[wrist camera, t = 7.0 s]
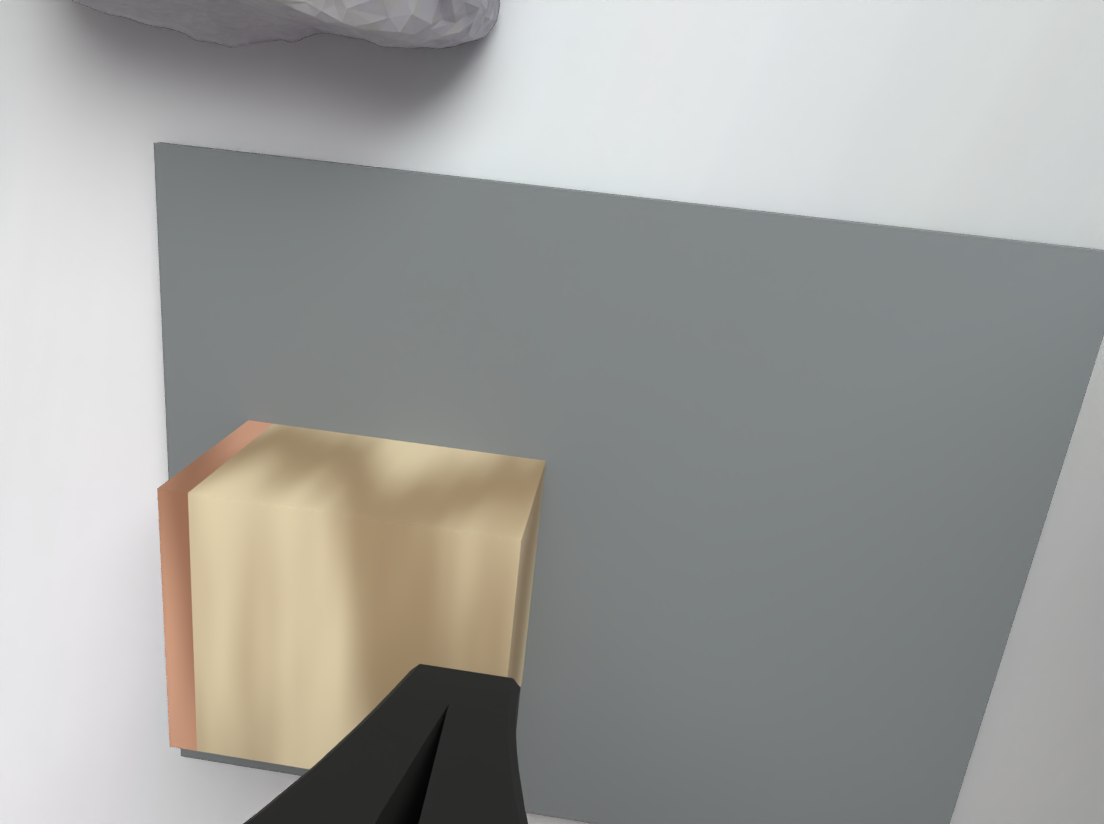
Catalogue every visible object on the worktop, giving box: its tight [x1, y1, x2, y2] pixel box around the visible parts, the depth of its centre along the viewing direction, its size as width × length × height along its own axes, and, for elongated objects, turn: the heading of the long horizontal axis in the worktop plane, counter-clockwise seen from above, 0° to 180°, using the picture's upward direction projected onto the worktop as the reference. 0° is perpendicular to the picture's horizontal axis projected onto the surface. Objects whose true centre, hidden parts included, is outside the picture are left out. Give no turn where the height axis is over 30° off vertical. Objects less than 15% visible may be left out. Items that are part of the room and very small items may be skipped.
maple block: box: [158, 420, 546, 769], centre depth 19 cm, size 4×6×7 cm
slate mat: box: [154, 143, 1104, 824], centre depth 21 cm, size 20×16×1 cm
